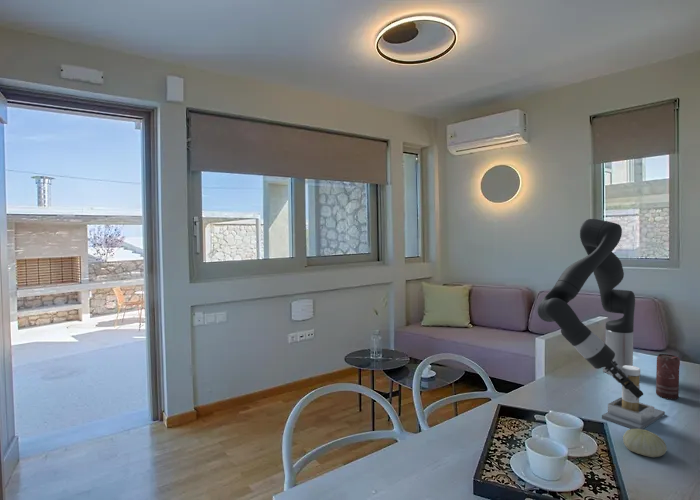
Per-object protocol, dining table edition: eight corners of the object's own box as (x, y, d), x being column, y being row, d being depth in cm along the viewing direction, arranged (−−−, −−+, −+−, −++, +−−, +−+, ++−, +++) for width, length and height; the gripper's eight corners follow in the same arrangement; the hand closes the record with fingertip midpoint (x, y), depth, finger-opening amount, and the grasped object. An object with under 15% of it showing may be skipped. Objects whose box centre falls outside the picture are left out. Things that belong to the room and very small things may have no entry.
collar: (607, 413, 128) (607, 404, 128) (621, 406, 133) (621, 397, 133) (641, 424, 120) (641, 414, 120) (654, 416, 125) (654, 406, 125)
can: (683, 400, 139) (684, 359, 138) (661, 399, 140) (662, 358, 139) (673, 393, 145) (674, 353, 144) (652, 392, 146) (653, 353, 145)
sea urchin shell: (658, 457, 102) (633, 425, 106) (633, 468, 107) (611, 437, 112) (677, 448, 106) (653, 417, 111) (653, 459, 111) (631, 429, 116)
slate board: (601, 418, 127) (601, 415, 127) (628, 403, 137) (628, 400, 137) (639, 431, 119) (639, 427, 118) (664, 414, 129) (664, 411, 129)
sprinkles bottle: (628, 406, 129) (629, 364, 129) (642, 412, 125) (644, 368, 124) (617, 408, 128) (618, 365, 127) (632, 415, 124) (633, 370, 123)
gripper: (608, 348, 121) (657, 394, 118) (598, 336, 135) (642, 377, 131) (587, 364, 124) (634, 409, 120) (579, 350, 137) (621, 391, 133)
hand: (638, 392), depth 126 cm, fingers closed on sprinkles bottle, 4 cm apart
